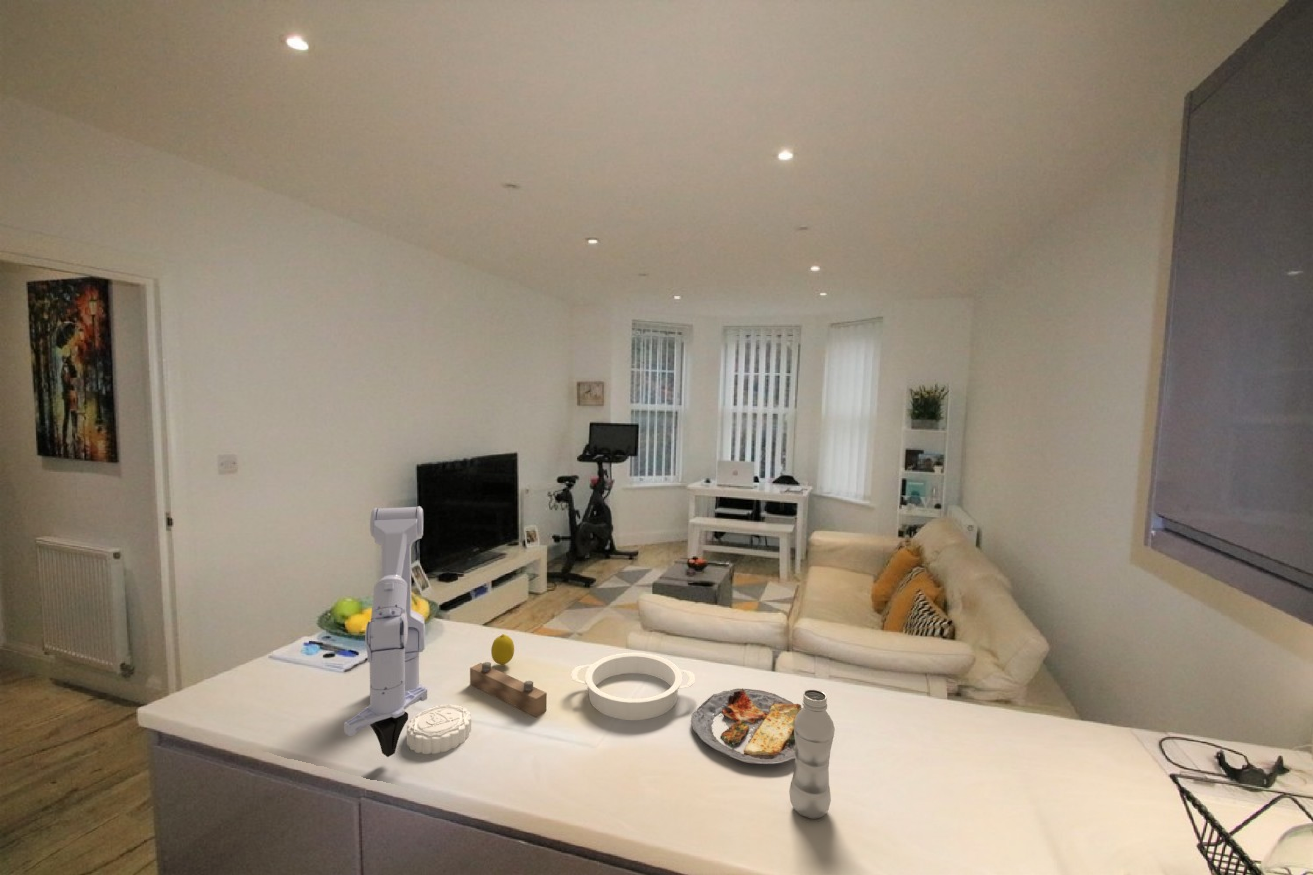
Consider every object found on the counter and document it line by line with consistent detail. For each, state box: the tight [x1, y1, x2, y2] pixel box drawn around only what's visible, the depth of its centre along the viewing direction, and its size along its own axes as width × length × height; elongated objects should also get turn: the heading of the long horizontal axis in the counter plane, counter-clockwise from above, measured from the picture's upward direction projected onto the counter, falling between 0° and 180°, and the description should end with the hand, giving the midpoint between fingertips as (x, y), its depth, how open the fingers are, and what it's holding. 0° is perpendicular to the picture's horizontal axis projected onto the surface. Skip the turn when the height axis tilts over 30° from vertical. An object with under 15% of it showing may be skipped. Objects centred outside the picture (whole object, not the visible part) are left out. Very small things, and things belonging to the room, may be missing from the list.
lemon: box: [490, 634, 515, 667], centre depth 137 cm, size 6×6×8 cm
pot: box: [570, 652, 696, 721], centre depth 125 cm, size 29×22×5 cm
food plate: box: [690, 688, 803, 765], centre depth 113 cm, size 25×23×4 cm
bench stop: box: [469, 661, 548, 718], centre depth 123 cm, size 22×3×6 cm, turn 56°
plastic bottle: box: [788, 688, 836, 820], centre depth 90 cm, size 6×7×20 cm
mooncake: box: [406, 704, 472, 755], centre depth 109 cm, size 12×12×4 cm
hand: (388, 753), depth 100 cm, fingers closed
